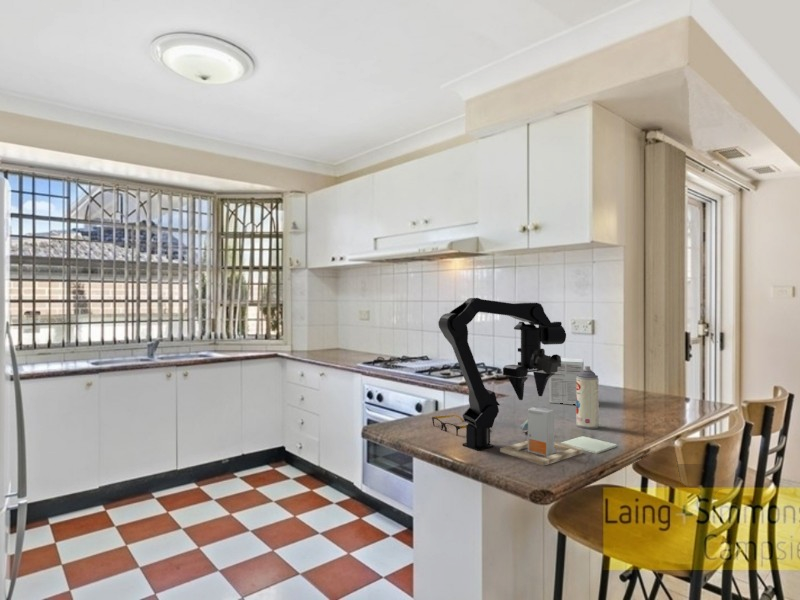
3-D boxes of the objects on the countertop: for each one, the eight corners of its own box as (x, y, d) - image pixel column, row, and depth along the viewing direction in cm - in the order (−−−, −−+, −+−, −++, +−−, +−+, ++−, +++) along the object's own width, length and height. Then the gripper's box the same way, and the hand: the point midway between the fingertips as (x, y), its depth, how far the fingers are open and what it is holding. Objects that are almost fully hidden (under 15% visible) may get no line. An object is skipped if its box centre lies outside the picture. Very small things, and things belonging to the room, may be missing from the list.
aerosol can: (576, 423, 162) (576, 364, 163) (598, 425, 160) (598, 365, 160) (576, 427, 156) (576, 367, 156) (598, 430, 154) (598, 368, 154)
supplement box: (583, 405, 190) (583, 362, 191) (549, 403, 195) (549, 360, 196) (583, 399, 203) (583, 358, 203) (551, 397, 208) (551, 357, 208)
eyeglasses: (429, 428, 157) (429, 416, 157) (464, 422, 164) (464, 411, 164) (455, 439, 145) (455, 426, 145) (492, 432, 152) (492, 420, 152)
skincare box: (527, 452, 130) (527, 408, 130) (534, 449, 133) (534, 406, 134) (547, 457, 126) (547, 412, 126) (555, 453, 129) (555, 409, 129)
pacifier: (536, 427, 153) (542, 415, 149) (545, 443, 148) (551, 432, 145) (516, 429, 151) (521, 417, 147) (523, 446, 146) (530, 434, 143)
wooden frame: (543, 466, 119) (543, 461, 119) (500, 452, 130) (500, 448, 130) (582, 453, 130) (582, 448, 130) (539, 441, 141) (539, 437, 141)
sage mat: (596, 453, 129) (596, 451, 129) (561, 444, 138) (561, 442, 138) (617, 446, 136) (617, 444, 136) (582, 437, 145) (582, 436, 145)
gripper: (533, 349, 128) (533, 407, 128) (573, 345, 139) (573, 398, 139) (501, 346, 137) (501, 400, 137) (541, 342, 148) (541, 392, 148)
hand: (530, 398), depth 140 cm, fingers open, 9 cm apart
